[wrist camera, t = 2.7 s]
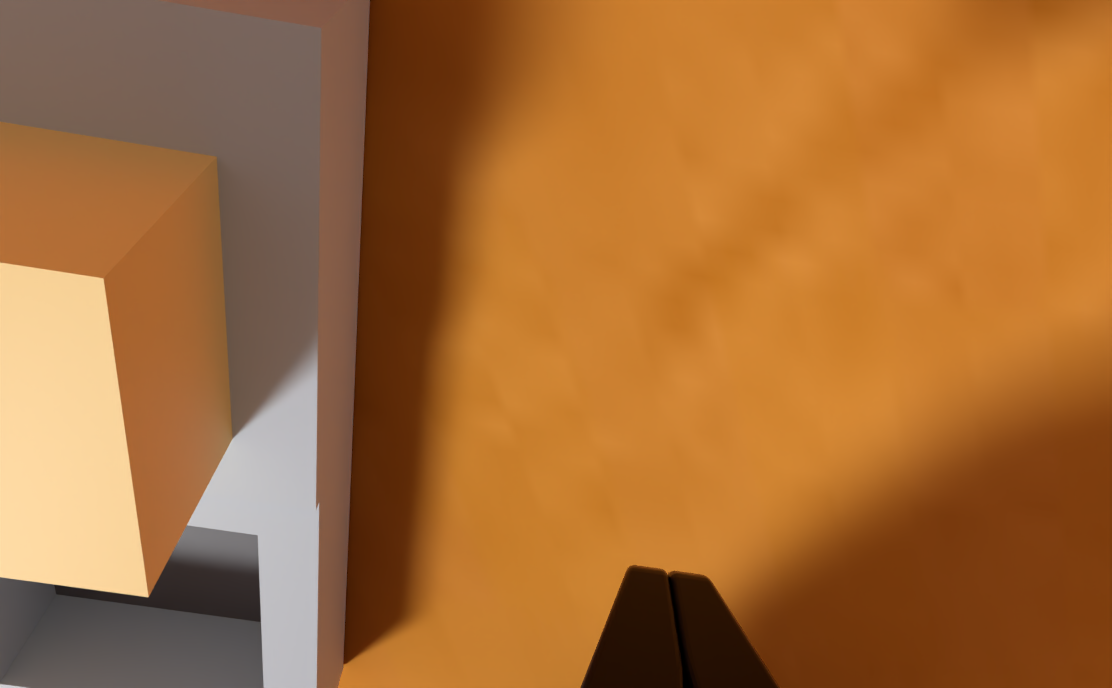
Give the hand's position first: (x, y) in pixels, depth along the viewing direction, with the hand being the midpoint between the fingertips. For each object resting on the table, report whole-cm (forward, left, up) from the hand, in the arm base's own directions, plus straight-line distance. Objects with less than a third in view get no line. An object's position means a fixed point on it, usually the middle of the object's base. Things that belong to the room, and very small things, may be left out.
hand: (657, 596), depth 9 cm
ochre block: (+8, 0, -4) cm, 9 cm away
